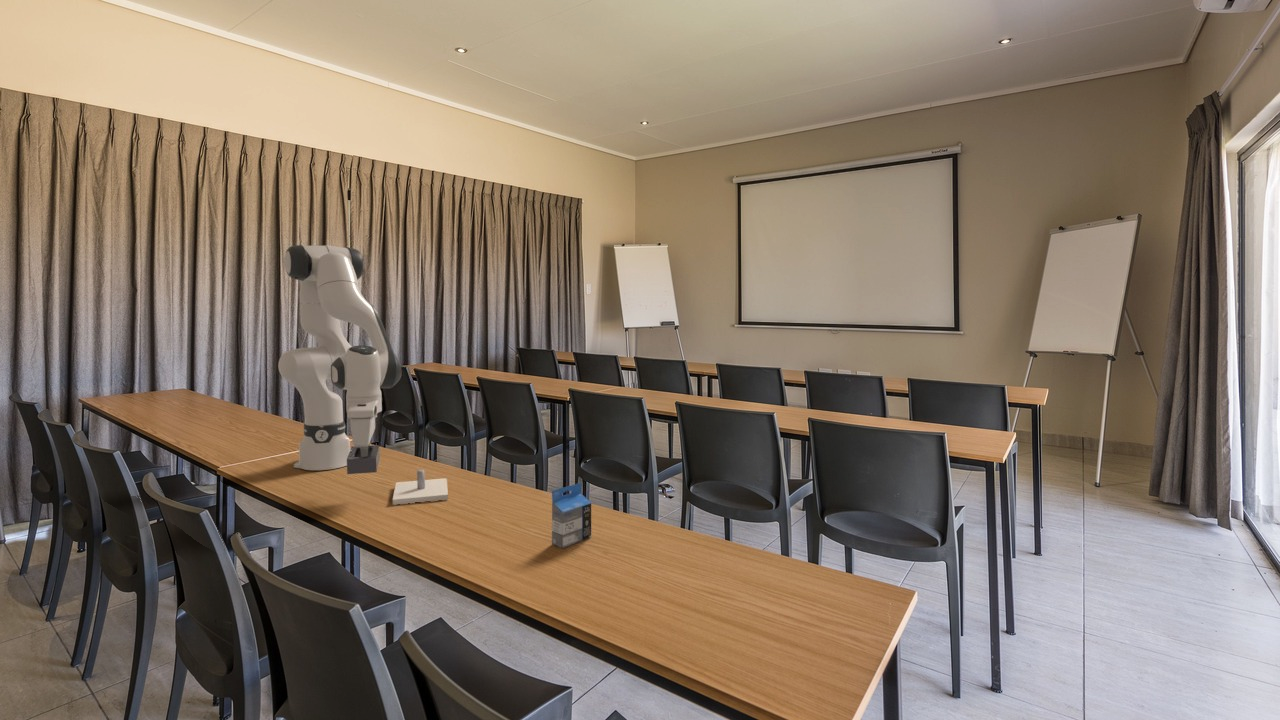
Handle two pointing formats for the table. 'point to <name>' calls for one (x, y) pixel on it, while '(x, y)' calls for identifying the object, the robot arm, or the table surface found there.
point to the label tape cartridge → (570, 516)
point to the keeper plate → (420, 490)
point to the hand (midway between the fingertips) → (365, 454)
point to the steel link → (363, 460)
